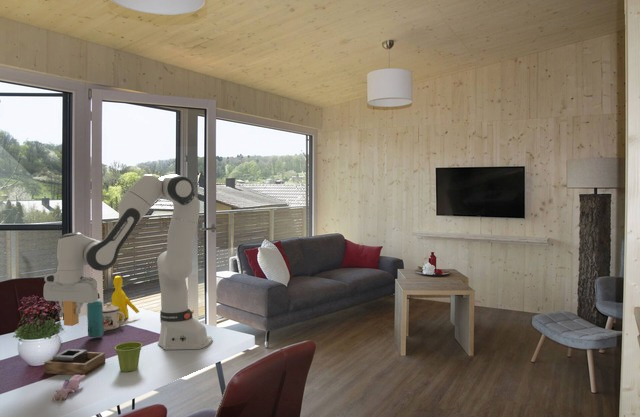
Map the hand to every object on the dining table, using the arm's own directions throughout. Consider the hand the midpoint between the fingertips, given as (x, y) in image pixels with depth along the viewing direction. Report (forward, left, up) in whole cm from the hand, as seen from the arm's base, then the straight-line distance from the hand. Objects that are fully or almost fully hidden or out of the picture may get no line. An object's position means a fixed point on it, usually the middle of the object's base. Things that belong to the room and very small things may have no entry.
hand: (71, 313), depth 179 cm
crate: (-3, +2, -20) cm, 20 cm away
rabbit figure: (-14, +21, -20) cm, 33 cm away
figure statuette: (+16, -60, -20) cm, 65 cm away
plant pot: (-23, 0, -20) cm, 30 cm away
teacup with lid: (+12, -46, -20) cm, 51 cm away
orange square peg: (0, 0, -4) cm, 4 cm away
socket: (-1, +2, -20) cm, 20 cm away
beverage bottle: (+10, -30, -20) cm, 37 cm away
